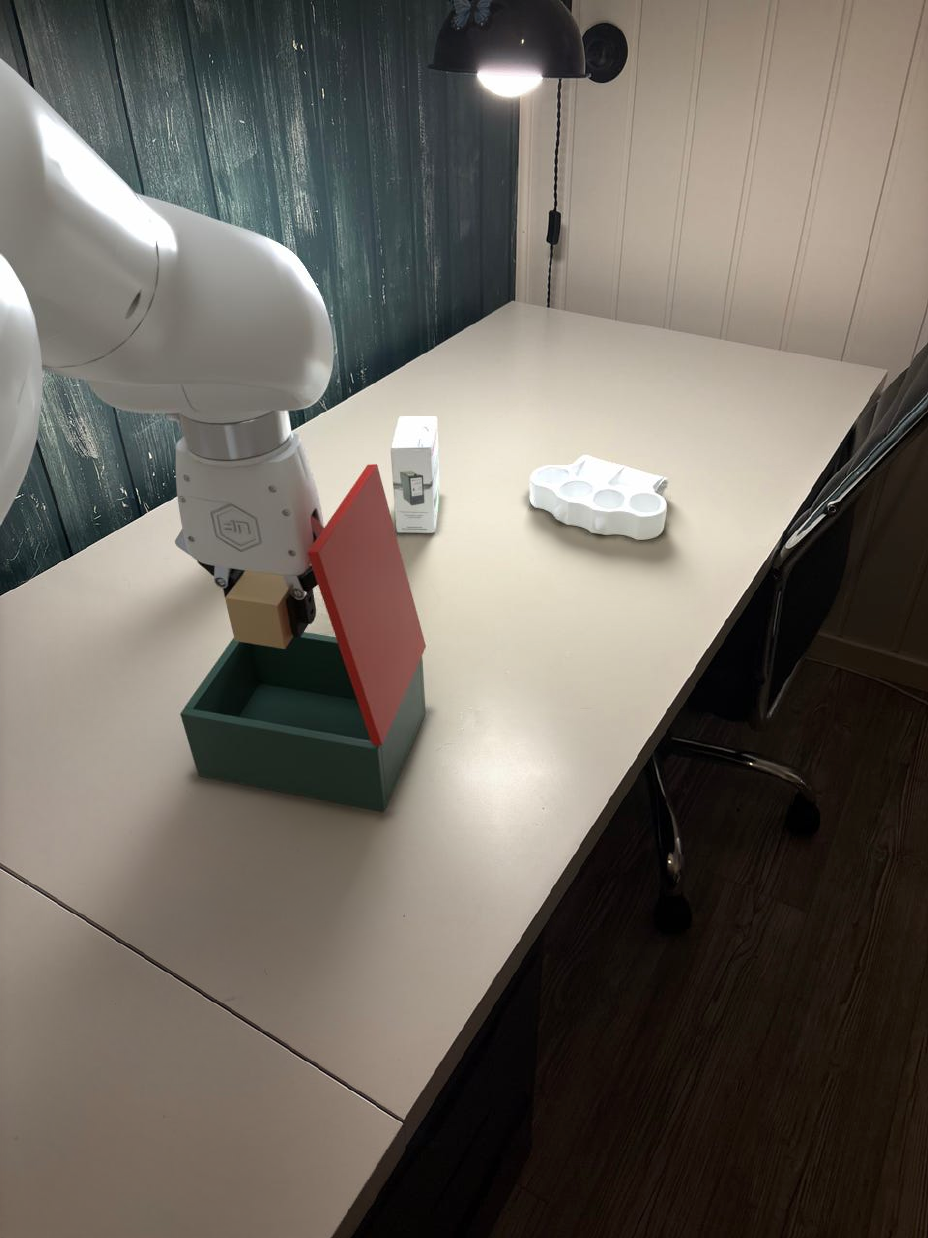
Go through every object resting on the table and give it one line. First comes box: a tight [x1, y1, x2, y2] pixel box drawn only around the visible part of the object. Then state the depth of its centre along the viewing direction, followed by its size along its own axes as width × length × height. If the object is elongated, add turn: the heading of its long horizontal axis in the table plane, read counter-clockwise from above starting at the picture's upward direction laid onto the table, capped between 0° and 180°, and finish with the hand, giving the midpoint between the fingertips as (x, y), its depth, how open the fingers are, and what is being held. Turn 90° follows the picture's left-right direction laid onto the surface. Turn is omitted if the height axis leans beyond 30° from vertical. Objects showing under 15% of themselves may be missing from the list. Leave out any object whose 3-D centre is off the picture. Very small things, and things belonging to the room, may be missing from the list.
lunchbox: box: [179, 631, 427, 813], centre depth 83 cm, size 18×13×8 cm
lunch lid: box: [308, 463, 427, 745], centre depth 73 cm, size 18×13×1 cm
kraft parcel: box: [224, 571, 293, 649], centre depth 76 cm, size 4×6×4 cm
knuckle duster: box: [529, 454, 669, 541], centre depth 115 cm, size 3×18×15 cm
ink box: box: [390, 415, 440, 534], centre depth 112 cm, size 9×5×12 cm, turn 177°
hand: (273, 620), depth 77 cm, fingers closed on kraft parcel, 4 cm apart
